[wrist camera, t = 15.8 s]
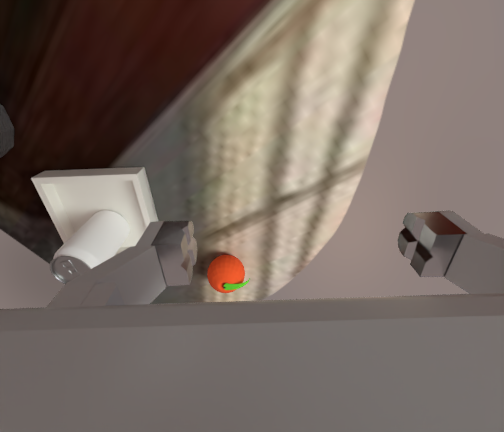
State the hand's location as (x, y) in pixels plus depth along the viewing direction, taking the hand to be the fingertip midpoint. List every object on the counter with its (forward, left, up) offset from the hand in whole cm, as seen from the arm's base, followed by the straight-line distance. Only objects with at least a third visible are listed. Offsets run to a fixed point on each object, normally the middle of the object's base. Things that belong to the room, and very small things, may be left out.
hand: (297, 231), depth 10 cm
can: (+18, -27, -30) cm, 44 cm away
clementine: (+28, -7, -31) cm, 43 cm away
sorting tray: (+16, -27, -31) cm, 44 cm away
